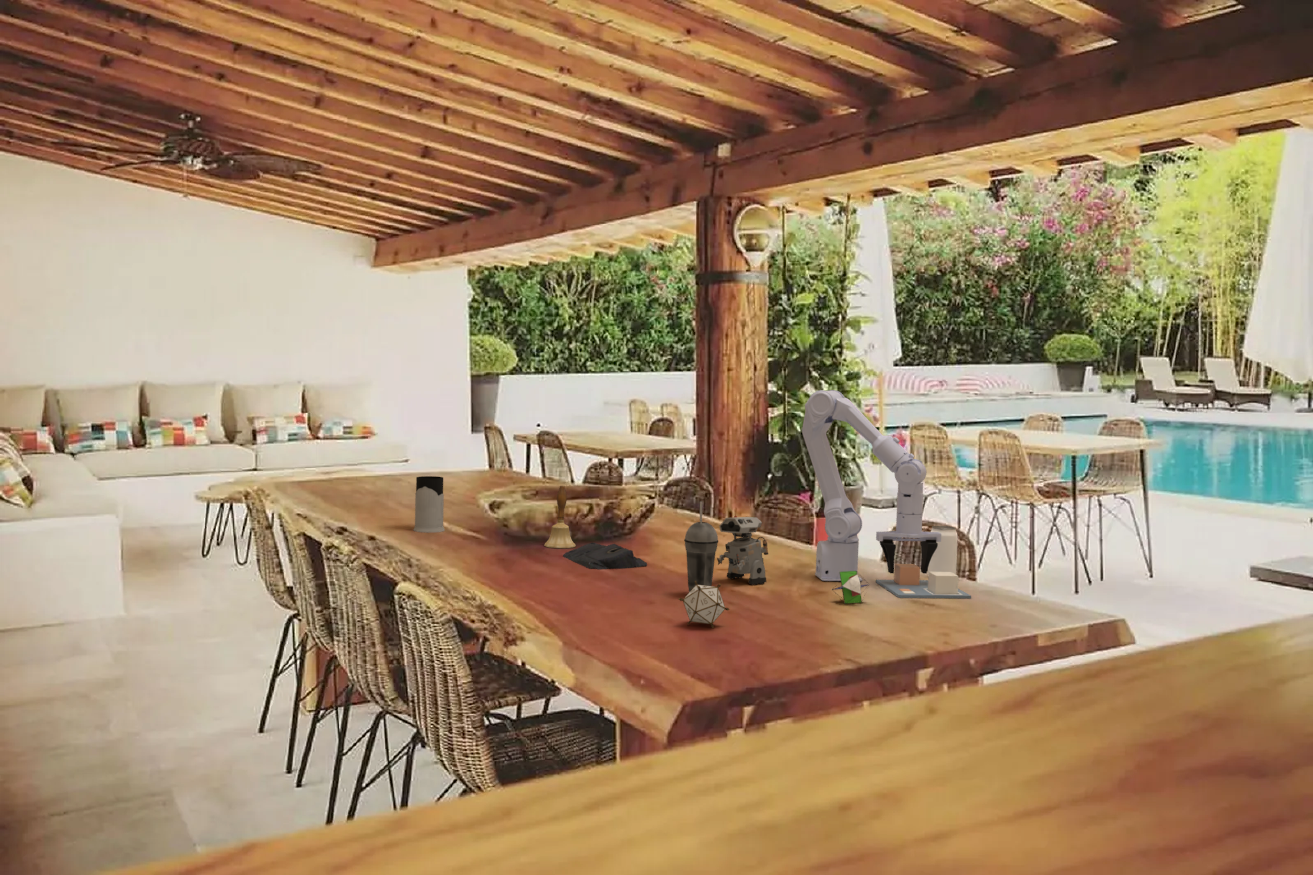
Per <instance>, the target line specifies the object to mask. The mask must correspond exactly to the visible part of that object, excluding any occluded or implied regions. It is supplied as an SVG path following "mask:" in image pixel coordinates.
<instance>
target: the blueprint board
mask: <svg viewBox="0 0 1313 875" xmlns="http://www.w3.org/2000/svg"><path fill="white" fill-rule="evenodd" d="M875 583H876V584H877V585H879V586H880V587H883V589H885V590H886V591H888V592H890V593H891V594H893V595H894V596H896V597H897V598H899V599H903V598H904V599H969V600H970V599H971V600H972V595H971V594H969V593H968V592H966V591H964V590H961V589H960V588H958V594H934V593H933V592H931V591H929V590H928V579H926V580H925V579H920V581H919V585H899V584H898V583H896V582H894V579H876V580H875Z"/></svg>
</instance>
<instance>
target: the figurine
mask: <svg viewBox="0 0 1313 875" xmlns="http://www.w3.org/2000/svg"><path fill="white" fill-rule="evenodd" d="M762 524H763V522H762V521H761V520H760V519H759V518H758V517H757V516H756V517H752V516H737V515H735V516H734V517H725V519H723V521H722V522H721V523H720V525H719V526H718V527H719V530H720V533H730V534H732V535H733V538H734V539H732V541H728V542H727V543H725V551H724V552H723V554H719V557H716V560H717V562H718V563H717V566H719V565H720V564H721V565H722V564H723V561H724V560H725V558H726V559H728V568H727V572H726V578H727V579H729V580H735V579H743V577H745V575H748V574H749V578H748V584H749V585H751V586H757V585H765V583H767V577H766V567H765V562H764V558H763V556H767V555H769V549H768V540H766V539H765V537H763V536H759V537H758V538H753V537H752V536H753V533H757V530H758V528H761V527H762ZM761 538H762V539H763V540H762V542H761Z"/></svg>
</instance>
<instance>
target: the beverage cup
mask: <svg viewBox="0 0 1313 875" xmlns="http://www.w3.org/2000/svg"><path fill="white" fill-rule="evenodd" d="M718 543H719V538H718V533H717V530H716V529H715V527H714V526H713V525H712V524H710V523H709V522H707V521H703V501H699V521H696V522H694V523H692V524H691V525H690V526H689V527H688V529H687V530H686V532H685V537H684V547H685V551H686V569H687V587H688V593H689V592H690V591H691V590H692V589H693V588H694V587H695V586H696V585H695V581H696V582H697V584H698V585H706V586H713V578H714V570H715V560H716V552H717V549H718Z"/></svg>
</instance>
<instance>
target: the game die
mask: <svg viewBox="0 0 1313 875" xmlns="http://www.w3.org/2000/svg"><path fill="white" fill-rule="evenodd" d="M695 585H696V586H695V587H694V588H693V589H692V590H691V591H690V592H689V591H688V593H687V595H685V596H684V598H681V597H679V598H678V600H679V601H680V602H682V604H683V606H684V608H685V611H686V614H687V617H688V619H689V621H687V626H688V625H691V624H692V623H695V624H696V623H698V624H705V625H710V626H711V627H710V628H712V629H714V627H715V625H714V624H713V623H715V622H716V620H717V619H718V618H719V617H720V616H721V615H722V614H723V613H724V611H730V610H731V609H730V608H729V607H726V606H725V603H724V600H723V598H722V593H721V591H720V587H721V585H722V584H721V583H718V585H716V586H713V585H712V586H706V585H698V584H697V582H696V581H695Z"/></svg>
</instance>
